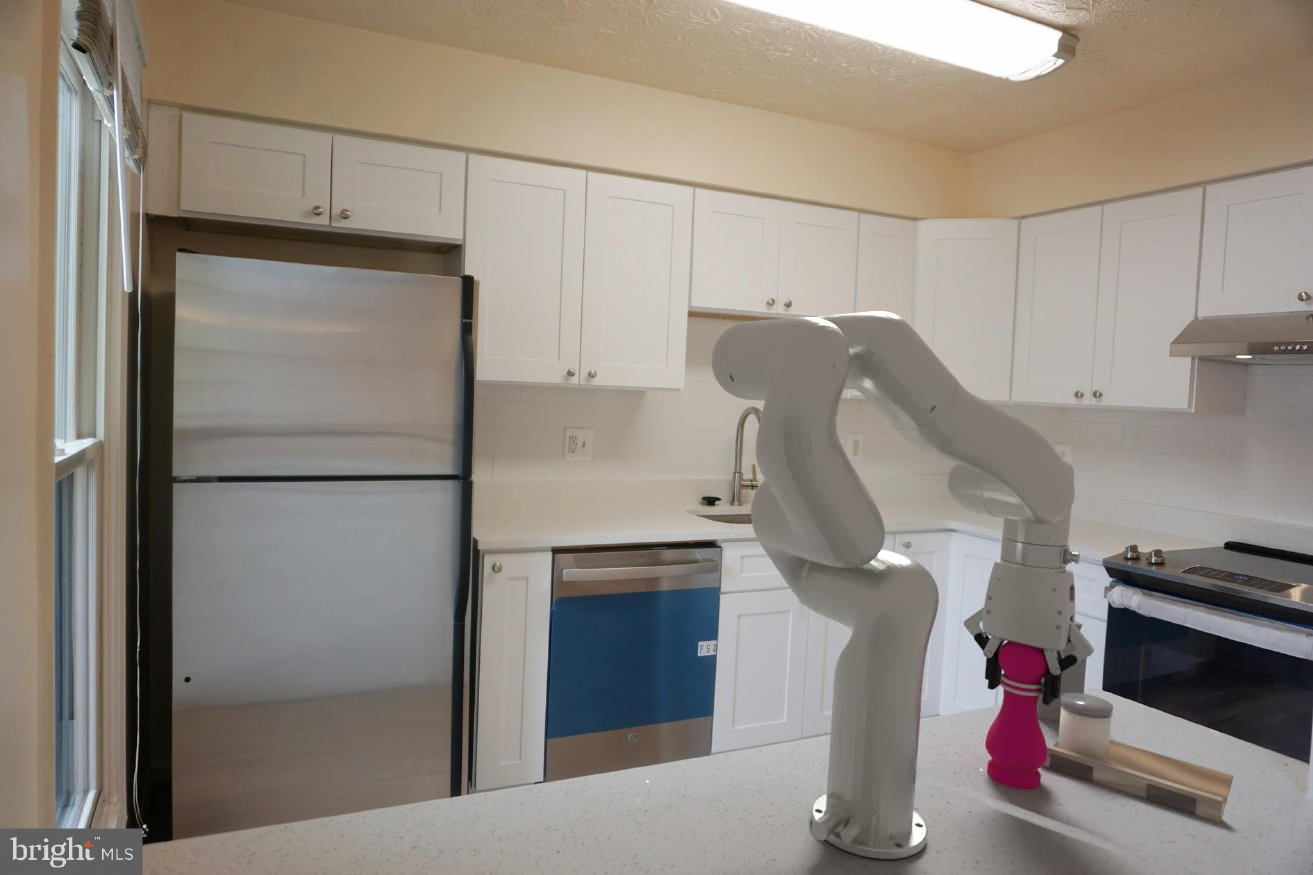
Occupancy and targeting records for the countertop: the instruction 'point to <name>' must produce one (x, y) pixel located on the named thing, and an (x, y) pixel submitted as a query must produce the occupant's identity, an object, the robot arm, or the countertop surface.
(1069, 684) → the perfume bottle
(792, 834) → the countertop surface
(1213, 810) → the shelf
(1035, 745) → the pepper mill
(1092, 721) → the jar
